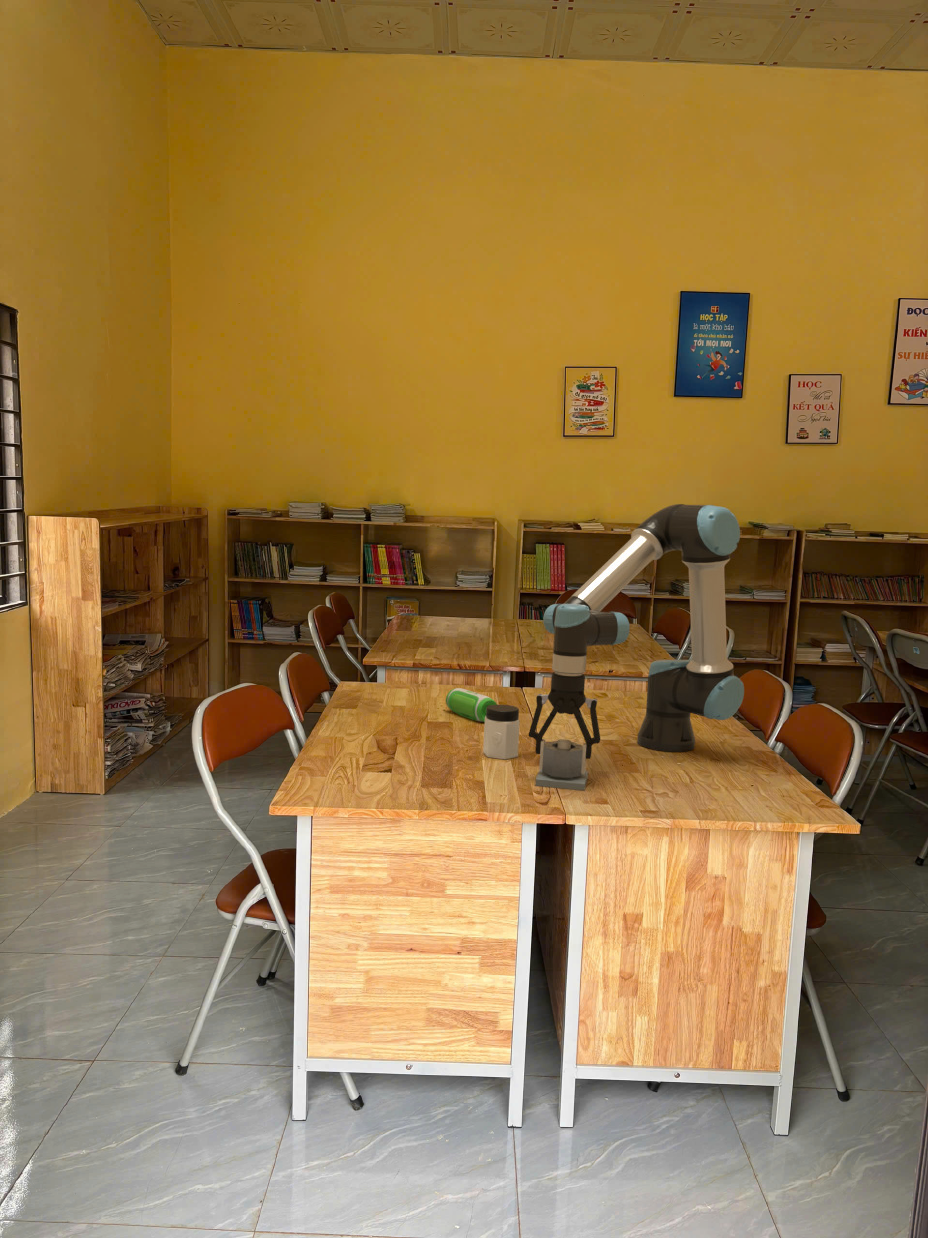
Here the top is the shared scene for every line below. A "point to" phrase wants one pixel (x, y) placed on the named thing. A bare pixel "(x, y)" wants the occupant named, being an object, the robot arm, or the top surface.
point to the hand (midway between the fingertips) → (562, 770)
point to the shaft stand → (562, 782)
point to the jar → (501, 732)
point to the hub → (562, 760)
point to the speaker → (468, 704)
